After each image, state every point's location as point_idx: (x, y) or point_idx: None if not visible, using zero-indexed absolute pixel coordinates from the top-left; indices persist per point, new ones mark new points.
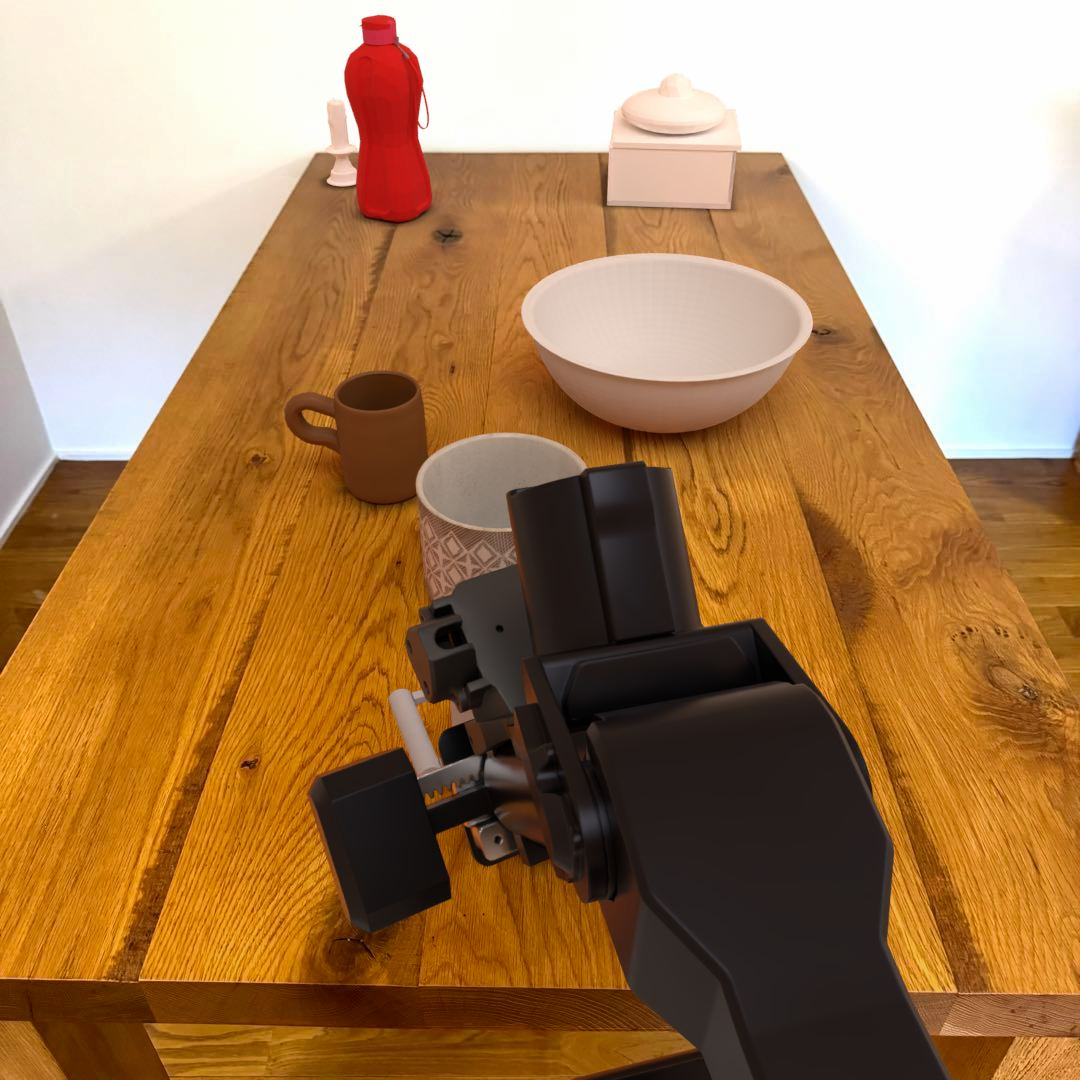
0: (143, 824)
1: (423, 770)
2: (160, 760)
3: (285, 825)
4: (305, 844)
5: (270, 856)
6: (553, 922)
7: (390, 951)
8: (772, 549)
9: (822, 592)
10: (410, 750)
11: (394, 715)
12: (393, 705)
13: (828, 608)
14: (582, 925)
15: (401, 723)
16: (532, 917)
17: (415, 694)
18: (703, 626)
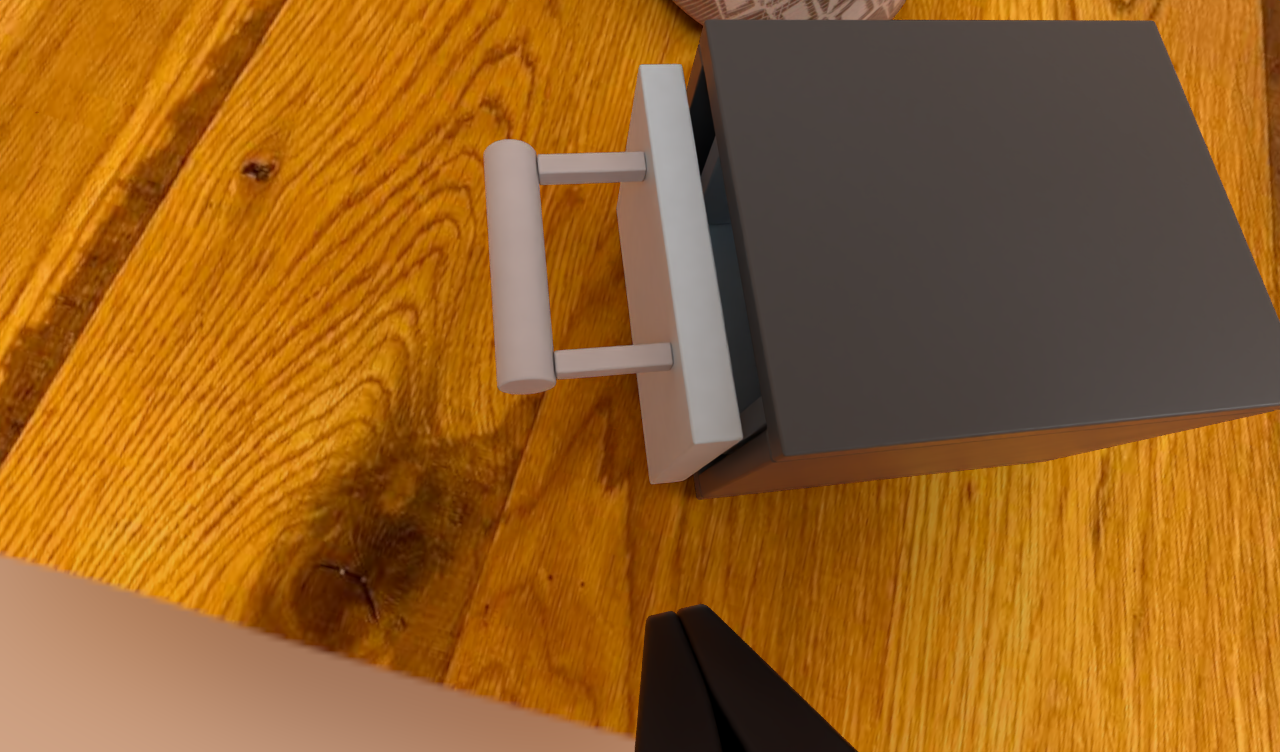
0: (41, 236)
1: (509, 379)
2: (104, 117)
3: (289, 311)
4: (314, 359)
5: (247, 366)
6: None
7: (407, 615)
8: (1199, 27)
9: (1258, 131)
10: (495, 310)
11: (486, 200)
12: (488, 176)
13: (1261, 163)
14: None
15: (493, 231)
16: None
17: (544, 161)
18: (1225, 192)
